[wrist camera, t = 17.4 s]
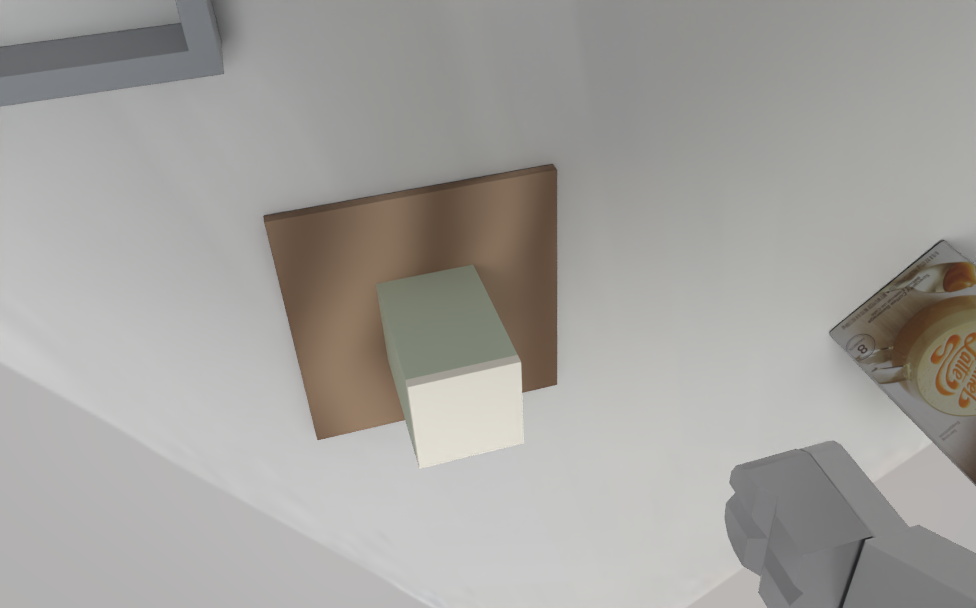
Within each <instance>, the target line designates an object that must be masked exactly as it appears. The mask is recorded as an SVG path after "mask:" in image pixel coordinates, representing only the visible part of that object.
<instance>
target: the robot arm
mask: <svg viewBox="0 0 976 608" xmlns="http://www.w3.org/2000/svg"><path fill="white" fill-rule="evenodd" d="M729 483H730V485H731V486H732V488H733V489H734V491H735V494H734V495H733V496H732V497H731V498H730V499H729V500H728V502H727V503H726V509H725V523H726V528H727V533H728V537H729V540H730V542H731V545H732V547H733V549H734V552H735V553H736V555H737V557H738V559H739V560H740V562H741V564H742V565H743V566H744V567H746V568H747V569H749V570H751V571H753V572H754V573H756V574H758V575H759V576H760V584H759V591H758V593H759V594H760V596H761V597H762V599H763V601H764V602H765V604H766V606H767V608H976V553H974V552H972V551H970V550H968V549H966V548H964V547H962V546H960V545H958V544H956V543H954V542H952V541H950V540H948V539H946V538H944V537H941V536H940V535H938V534H936V533H934V532H932V531H930V530H928V529H926V528H924V527H922V526H920V525H917V526H913V527H909V526H908V525H907V524H906V523H905V522H904V520H903V519H902V518H901V517H900V515H899V514H898V513H897V512H896V511H895V509H894V508H893V507H892V506H891V505H890V503H889V502H888V501H887V500H886V499H885V497H884V496H883V495H882V494H881V492H880V491H879V490H878V489H877V488H876V486H875V485H874V484H873V483H872V482H871V480H870V479H869V478H868V477H867V476H866V474H865V473H864V472H863V471H862V469H861V468H860V467H859V466H858V465H857V463H856V462H855V461H854V460H853V459H852V457H851V456H850V455H849V454H848V453H847V451H846V450H845V449H844V448H843V446H842V445H840V444H839V443H837V442H835V441H826V442H823V443H819V444H816V445H812V446H809V447H805V448H802V449H794V450H790V451H786V452H783V453H779V454H776V455H772V456H769V457H765V458H762V459H758V460H754V461H751V462H747V463H744V464H740V465H737V466H736V467H735V468H734V469H733V470H732V471H731V477H730V482H729Z"/></svg>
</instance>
